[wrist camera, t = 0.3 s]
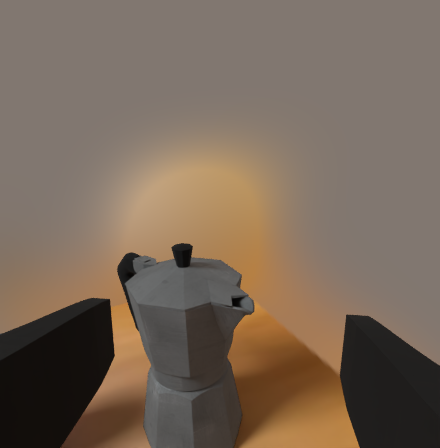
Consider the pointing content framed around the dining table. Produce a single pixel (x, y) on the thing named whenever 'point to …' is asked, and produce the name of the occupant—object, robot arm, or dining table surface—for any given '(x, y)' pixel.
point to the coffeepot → (187, 346)
